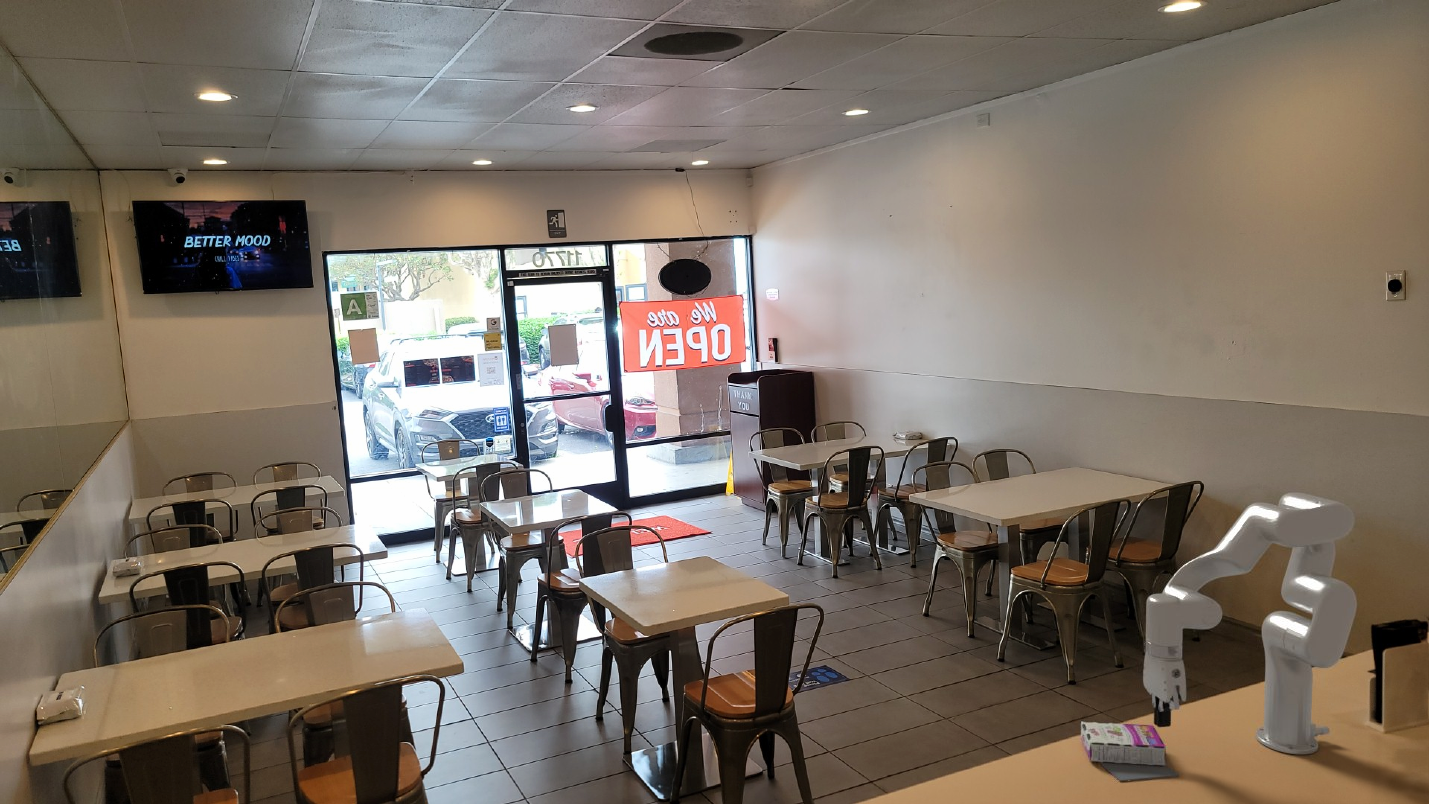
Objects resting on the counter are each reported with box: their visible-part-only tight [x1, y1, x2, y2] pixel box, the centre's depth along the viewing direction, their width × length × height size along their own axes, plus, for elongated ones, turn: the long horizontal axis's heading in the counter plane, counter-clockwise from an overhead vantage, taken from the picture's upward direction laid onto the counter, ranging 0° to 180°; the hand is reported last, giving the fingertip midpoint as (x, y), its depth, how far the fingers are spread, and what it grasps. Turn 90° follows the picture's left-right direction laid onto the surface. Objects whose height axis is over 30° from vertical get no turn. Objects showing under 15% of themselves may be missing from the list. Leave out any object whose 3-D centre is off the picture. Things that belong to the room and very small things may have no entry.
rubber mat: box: [1098, 762, 1180, 783], centre depth 210 cm, size 14×14×1 cm
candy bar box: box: [1080, 721, 1167, 766], centre depth 214 cm, size 11×5×16 cm
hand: (1162, 725), depth 211 cm, fingers closed
